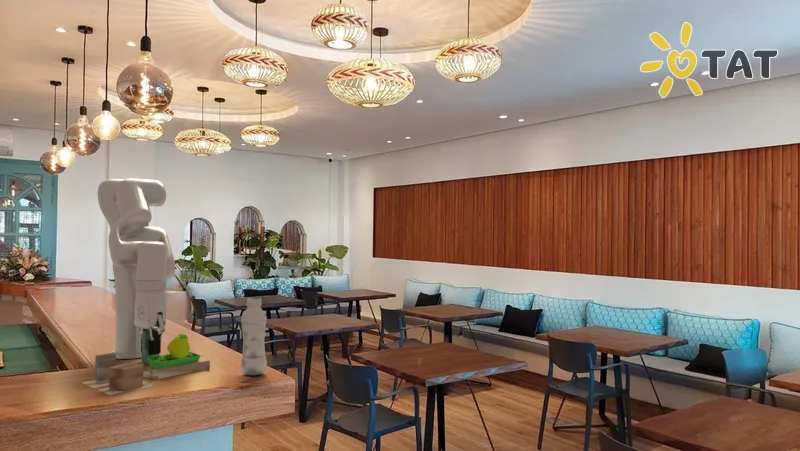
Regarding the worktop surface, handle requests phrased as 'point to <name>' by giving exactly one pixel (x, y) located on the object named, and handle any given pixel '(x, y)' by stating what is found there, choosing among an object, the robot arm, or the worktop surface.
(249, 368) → the plastic bottle
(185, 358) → the fruit basket
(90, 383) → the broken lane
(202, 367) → the wooden serving tray
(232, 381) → the worktop surface
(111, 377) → the walnut cube
